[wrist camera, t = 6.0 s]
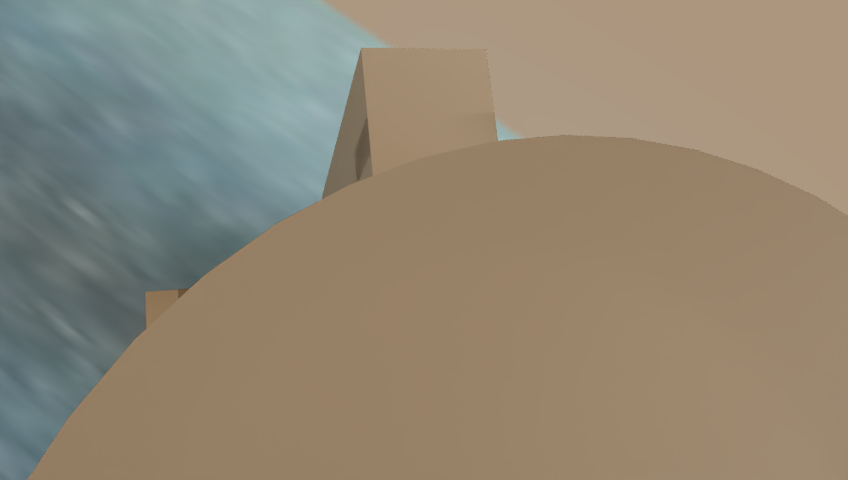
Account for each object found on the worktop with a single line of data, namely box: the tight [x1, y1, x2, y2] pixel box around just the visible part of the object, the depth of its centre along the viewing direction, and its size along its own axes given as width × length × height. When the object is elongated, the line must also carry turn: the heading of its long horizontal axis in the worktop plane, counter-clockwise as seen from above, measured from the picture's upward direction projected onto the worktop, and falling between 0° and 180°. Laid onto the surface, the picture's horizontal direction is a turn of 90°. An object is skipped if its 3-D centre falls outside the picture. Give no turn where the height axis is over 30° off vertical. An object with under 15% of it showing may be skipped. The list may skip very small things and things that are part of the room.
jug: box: [28, 48, 848, 480], centre depth 9 cm, size 8×6×12 cm
